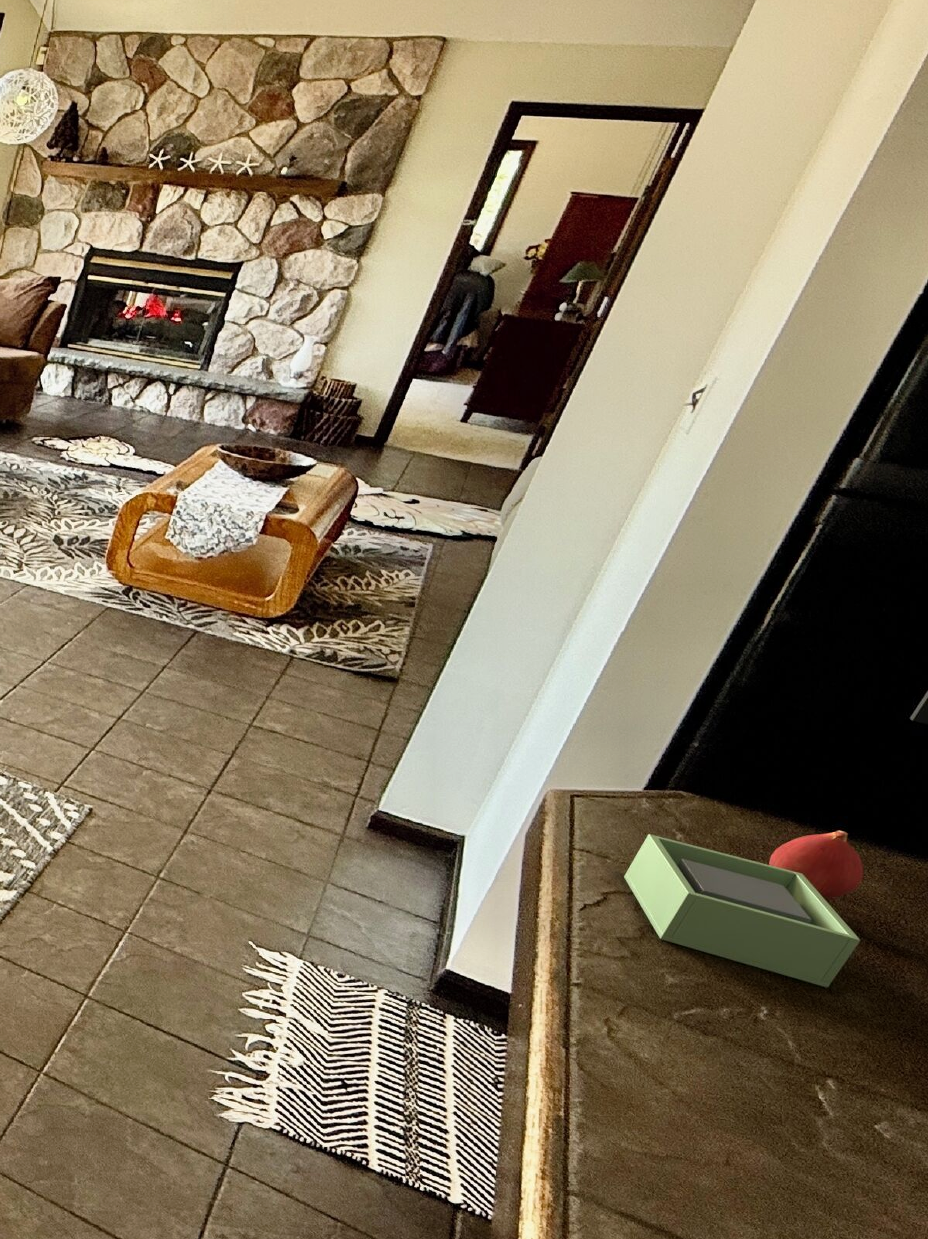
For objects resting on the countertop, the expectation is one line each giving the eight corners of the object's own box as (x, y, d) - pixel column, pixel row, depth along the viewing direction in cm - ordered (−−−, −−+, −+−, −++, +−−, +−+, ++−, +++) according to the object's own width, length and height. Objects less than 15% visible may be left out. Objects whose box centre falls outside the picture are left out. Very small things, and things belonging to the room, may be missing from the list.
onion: (735, 881, 116) (779, 812, 112) (792, 885, 116) (837, 817, 112) (796, 915, 110) (843, 843, 107) (855, 920, 110) (905, 849, 107)
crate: (773, 917, 109) (802, 873, 107) (827, 987, 99) (861, 940, 97) (623, 876, 115) (648, 833, 113) (660, 939, 104) (688, 892, 102)
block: (760, 920, 108) (783, 884, 106) (787, 957, 102) (812, 919, 101) (660, 893, 111) (681, 858, 109) (681, 926, 106) (703, 890, 104)
